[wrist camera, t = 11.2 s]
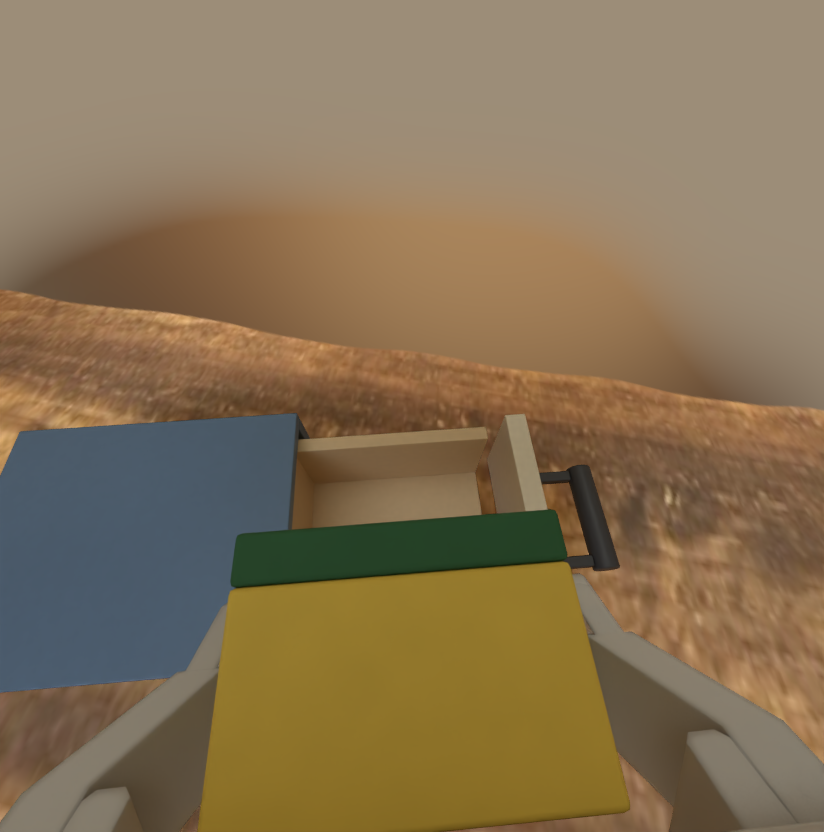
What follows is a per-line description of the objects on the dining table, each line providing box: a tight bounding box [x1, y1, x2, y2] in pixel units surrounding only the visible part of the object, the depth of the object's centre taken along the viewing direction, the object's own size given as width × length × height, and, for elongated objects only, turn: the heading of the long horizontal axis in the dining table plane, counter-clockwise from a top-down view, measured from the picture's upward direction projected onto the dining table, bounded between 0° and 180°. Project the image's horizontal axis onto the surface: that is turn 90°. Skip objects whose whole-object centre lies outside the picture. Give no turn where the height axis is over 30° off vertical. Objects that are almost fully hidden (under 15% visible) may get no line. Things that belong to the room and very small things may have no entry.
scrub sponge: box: [197, 509, 630, 832], centre depth 9 cm, size 4×3×9 cm
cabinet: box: [0, 413, 310, 693], centre depth 23 cm, size 15×12×8 cm
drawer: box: [292, 414, 620, 571], centre depth 24 cm, size 19×11×7 cm, turn 94°
